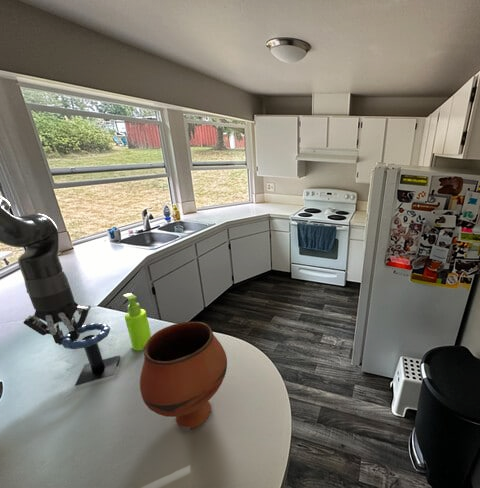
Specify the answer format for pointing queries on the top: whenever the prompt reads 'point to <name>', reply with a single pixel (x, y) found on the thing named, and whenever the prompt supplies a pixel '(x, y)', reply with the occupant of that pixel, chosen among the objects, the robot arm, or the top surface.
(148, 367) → the goblet
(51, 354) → the top surface
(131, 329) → the soap dispenser
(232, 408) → the top surface
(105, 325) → the ring
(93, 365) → the ring toss peg
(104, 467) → the top surface
